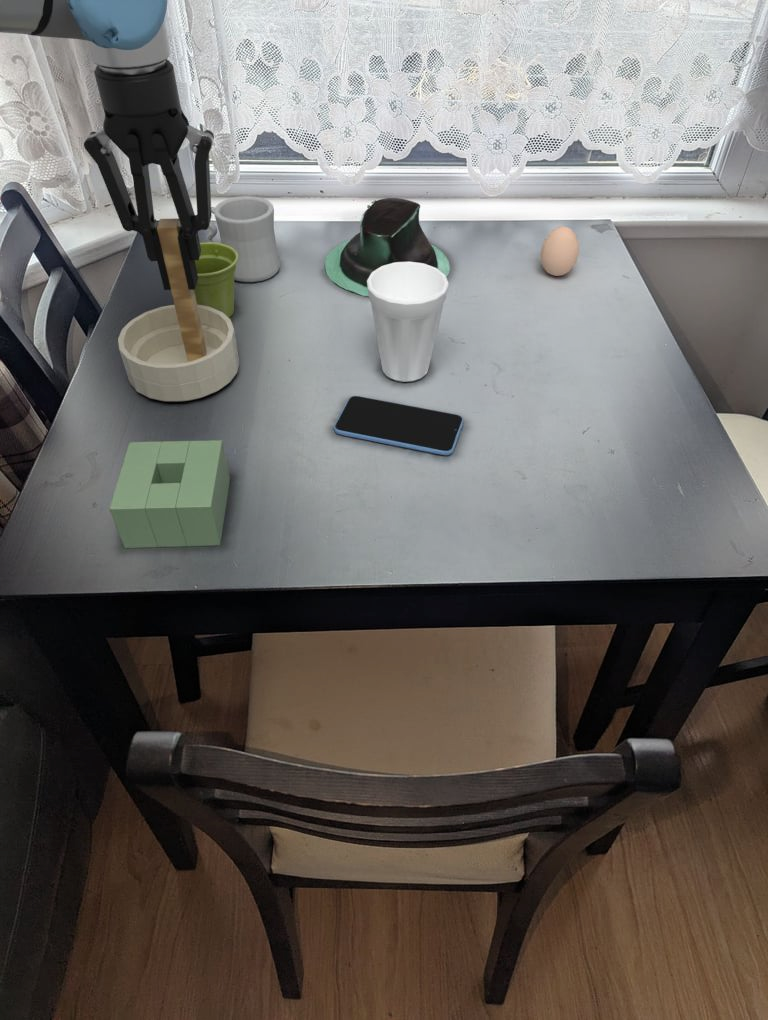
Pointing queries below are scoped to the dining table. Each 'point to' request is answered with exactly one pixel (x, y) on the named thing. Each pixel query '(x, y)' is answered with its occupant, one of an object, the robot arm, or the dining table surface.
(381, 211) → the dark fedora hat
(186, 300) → the stirring stick
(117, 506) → the holder
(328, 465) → the dining table surface
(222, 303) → the plant pot
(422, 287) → the cup
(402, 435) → the smartphone
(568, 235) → the egg
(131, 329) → the bowl
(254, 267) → the mug
